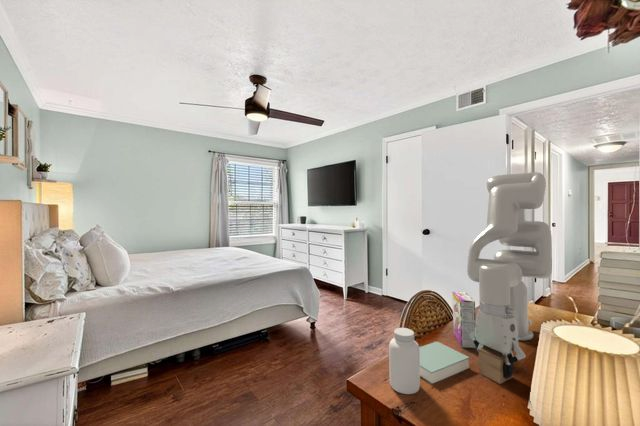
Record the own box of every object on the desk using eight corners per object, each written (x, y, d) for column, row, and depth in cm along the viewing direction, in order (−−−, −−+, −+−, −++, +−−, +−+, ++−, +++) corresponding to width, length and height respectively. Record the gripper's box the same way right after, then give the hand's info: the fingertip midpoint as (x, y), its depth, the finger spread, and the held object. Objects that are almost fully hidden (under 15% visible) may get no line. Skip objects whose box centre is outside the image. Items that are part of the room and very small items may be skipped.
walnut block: (491, 367, 86) (491, 343, 86) (513, 377, 80) (512, 352, 80) (478, 373, 83) (478, 348, 83) (500, 384, 77) (499, 358, 77)
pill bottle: (416, 399, 72) (415, 340, 72) (385, 389, 76) (384, 333, 76) (423, 382, 79) (422, 328, 79) (394, 374, 83) (393, 323, 83)
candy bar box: (452, 333, 109) (451, 291, 108) (466, 334, 108) (466, 291, 107) (460, 348, 98) (460, 300, 97) (476, 349, 97) (476, 301, 96)
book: (400, 364, 89) (400, 353, 89) (436, 351, 96) (436, 341, 96) (431, 384, 78) (431, 372, 78) (469, 368, 86) (469, 357, 85)
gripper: (535, 315, 75) (536, 383, 76) (474, 298, 91) (475, 354, 91) (519, 321, 72) (520, 391, 72) (458, 302, 87) (460, 360, 87)
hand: (495, 370), depth 81 cm, fingers closed on walnut block, 6 cm apart
